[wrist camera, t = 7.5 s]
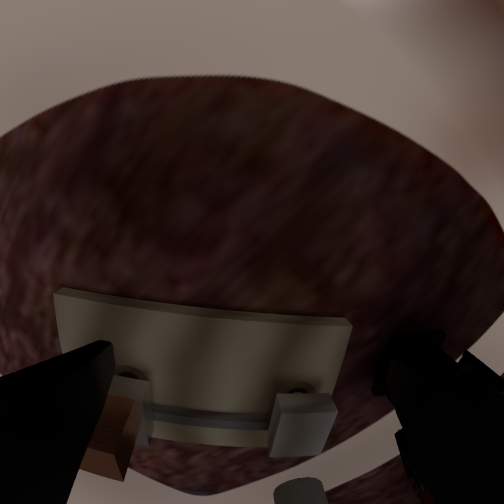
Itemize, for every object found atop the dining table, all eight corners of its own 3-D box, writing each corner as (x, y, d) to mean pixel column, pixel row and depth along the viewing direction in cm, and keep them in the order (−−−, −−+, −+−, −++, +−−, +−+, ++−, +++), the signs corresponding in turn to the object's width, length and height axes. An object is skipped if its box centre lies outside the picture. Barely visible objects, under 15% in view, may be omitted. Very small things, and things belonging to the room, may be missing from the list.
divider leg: (152, 373, 19) (122, 457, 11) (156, 418, 20) (136, 497, 12) (103, 363, 19) (58, 437, 11) (111, 409, 20) (80, 481, 12)
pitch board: (345, 317, 21) (373, 350, 16) (309, 434, 24) (321, 473, 19) (62, 286, 19) (27, 311, 14) (84, 409, 22) (66, 443, 17)
